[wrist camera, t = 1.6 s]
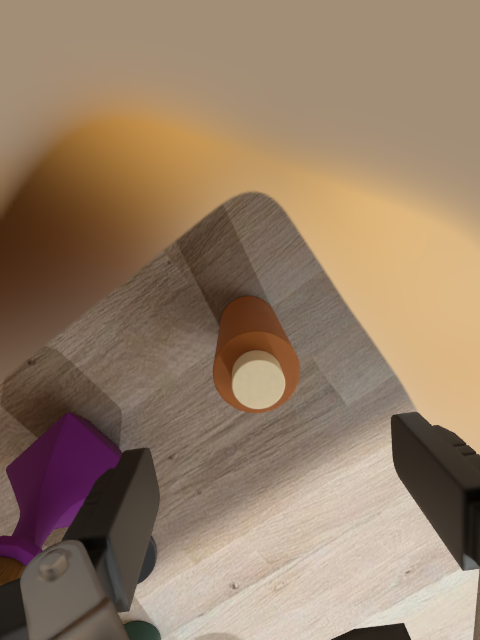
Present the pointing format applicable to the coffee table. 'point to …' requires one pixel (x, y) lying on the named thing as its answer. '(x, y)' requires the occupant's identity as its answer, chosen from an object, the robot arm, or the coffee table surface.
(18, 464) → the perfume bottle
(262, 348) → the amber bottle
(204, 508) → the coffee table surface
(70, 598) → the robot arm
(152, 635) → the green bottle
